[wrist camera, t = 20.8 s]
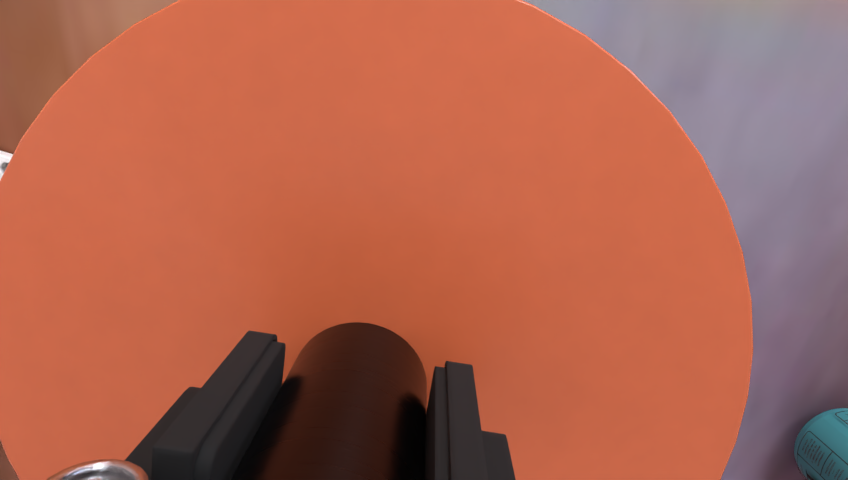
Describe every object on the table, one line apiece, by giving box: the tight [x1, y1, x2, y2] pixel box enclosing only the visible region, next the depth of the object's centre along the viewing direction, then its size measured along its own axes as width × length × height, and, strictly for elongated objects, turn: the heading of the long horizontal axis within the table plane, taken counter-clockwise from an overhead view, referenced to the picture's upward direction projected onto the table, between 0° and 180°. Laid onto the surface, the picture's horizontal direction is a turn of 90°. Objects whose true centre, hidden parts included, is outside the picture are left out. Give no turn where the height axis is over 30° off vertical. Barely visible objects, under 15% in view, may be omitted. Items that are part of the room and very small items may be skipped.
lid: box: [0, 0, 753, 480], centre depth 10 cm, size 17×17×8 cm
